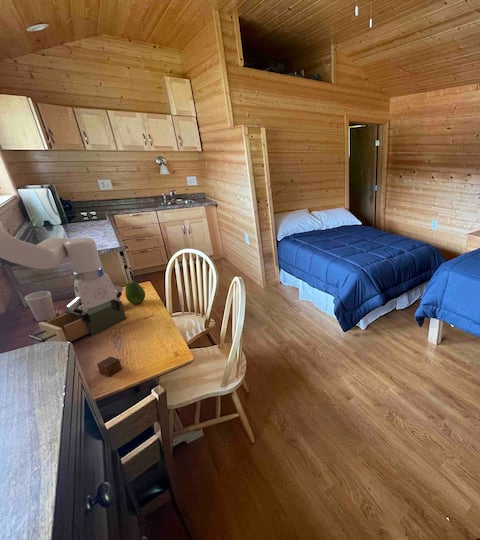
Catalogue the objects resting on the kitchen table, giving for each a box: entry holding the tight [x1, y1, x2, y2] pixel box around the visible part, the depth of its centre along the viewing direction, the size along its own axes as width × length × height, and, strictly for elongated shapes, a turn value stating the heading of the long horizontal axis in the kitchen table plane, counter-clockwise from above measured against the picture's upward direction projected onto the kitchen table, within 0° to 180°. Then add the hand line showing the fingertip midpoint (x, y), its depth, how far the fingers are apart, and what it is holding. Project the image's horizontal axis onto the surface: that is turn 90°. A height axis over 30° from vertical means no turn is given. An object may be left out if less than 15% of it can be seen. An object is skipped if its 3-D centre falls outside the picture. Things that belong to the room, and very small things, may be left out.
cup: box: [24, 290, 57, 322], centre depth 132 cm, size 8×8×12 cm
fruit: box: [124, 280, 146, 305], centre depth 150 cm, size 8×8×12 cm
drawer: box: [28, 313, 90, 343], centre depth 121 cm, size 18×11×8 cm, turn 162°
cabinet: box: [64, 300, 127, 337], centre depth 132 cm, size 15×13×10 cm
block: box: [96, 355, 123, 378], centre depth 108 cm, size 4×4×4 cm
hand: (102, 316), depth 110 cm, fingers open, 9 cm apart
